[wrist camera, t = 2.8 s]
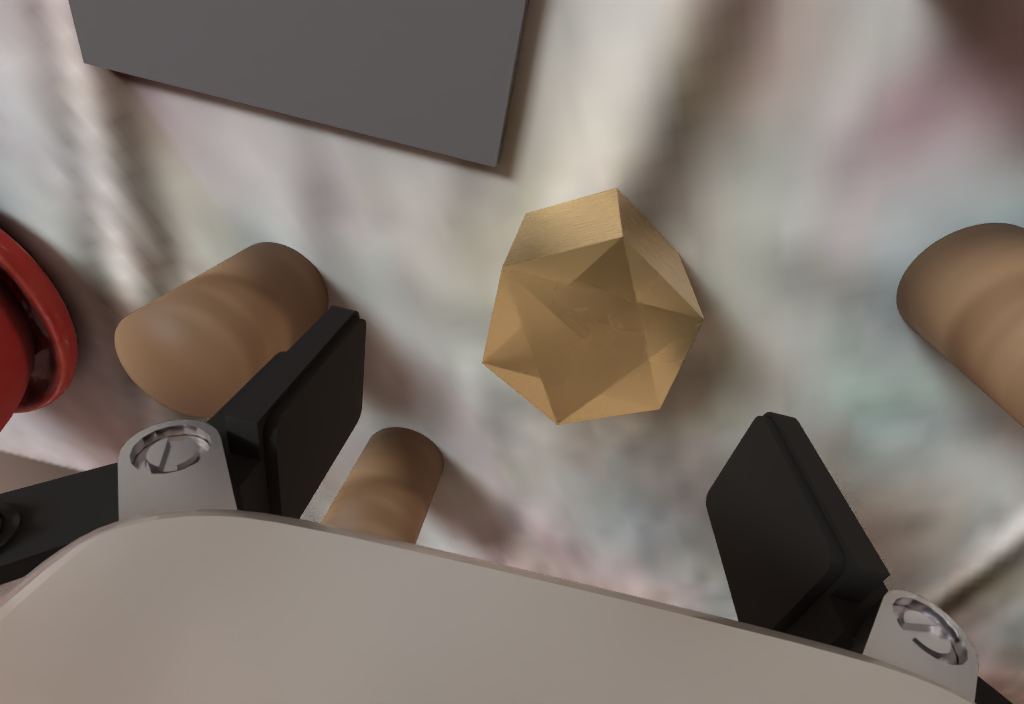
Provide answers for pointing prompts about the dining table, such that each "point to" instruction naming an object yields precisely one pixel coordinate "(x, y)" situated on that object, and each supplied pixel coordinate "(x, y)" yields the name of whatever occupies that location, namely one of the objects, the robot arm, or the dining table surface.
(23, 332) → the plant pot
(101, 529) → the robot arm
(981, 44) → the dining table surface
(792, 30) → the dining table surface
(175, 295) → the cylinder
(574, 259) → the tan faceted block
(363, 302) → the dining table surface
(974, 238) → the cylinder
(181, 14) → the mat
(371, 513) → the cylinder
